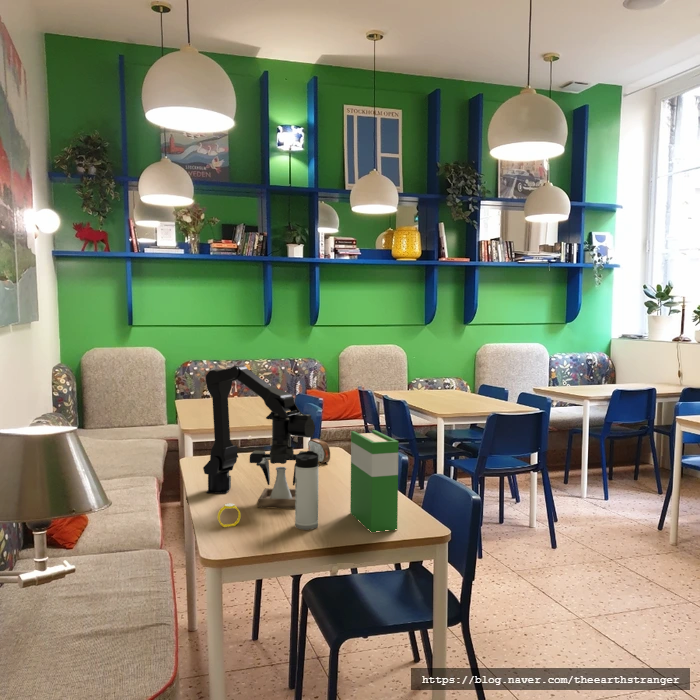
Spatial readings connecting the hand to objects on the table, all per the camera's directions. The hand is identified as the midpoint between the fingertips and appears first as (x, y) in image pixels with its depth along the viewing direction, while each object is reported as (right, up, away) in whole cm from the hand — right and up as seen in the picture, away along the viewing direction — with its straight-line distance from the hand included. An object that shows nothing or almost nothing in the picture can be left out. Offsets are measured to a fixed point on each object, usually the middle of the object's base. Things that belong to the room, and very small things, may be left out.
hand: (281, 484), depth 191 cm
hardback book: (+28, -7, -17) cm, 33 cm away
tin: (+9, -3, +57) cm, 58 cm away
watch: (-12, -7, -22) cm, 26 cm away
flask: (0, -5, 0) cm, 5 cm away
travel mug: (+9, -7, -22) cm, 25 cm away
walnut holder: (0, -5, 0) cm, 5 cm away
